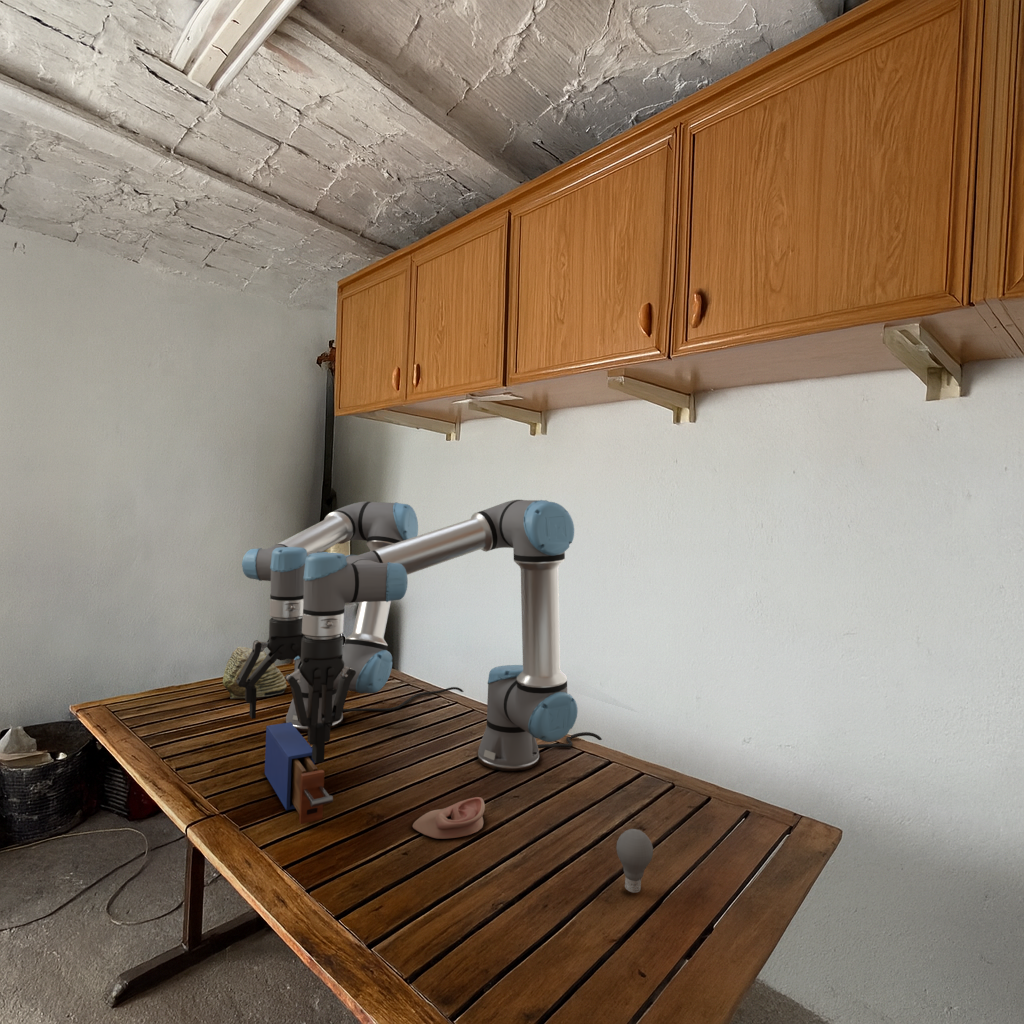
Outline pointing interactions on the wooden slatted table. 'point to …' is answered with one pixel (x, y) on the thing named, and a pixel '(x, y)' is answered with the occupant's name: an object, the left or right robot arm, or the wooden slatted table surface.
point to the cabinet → (283, 758)
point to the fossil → (266, 685)
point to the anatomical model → (453, 820)
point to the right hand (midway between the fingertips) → (317, 759)
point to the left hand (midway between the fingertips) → (284, 711)
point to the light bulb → (634, 857)
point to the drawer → (308, 790)
